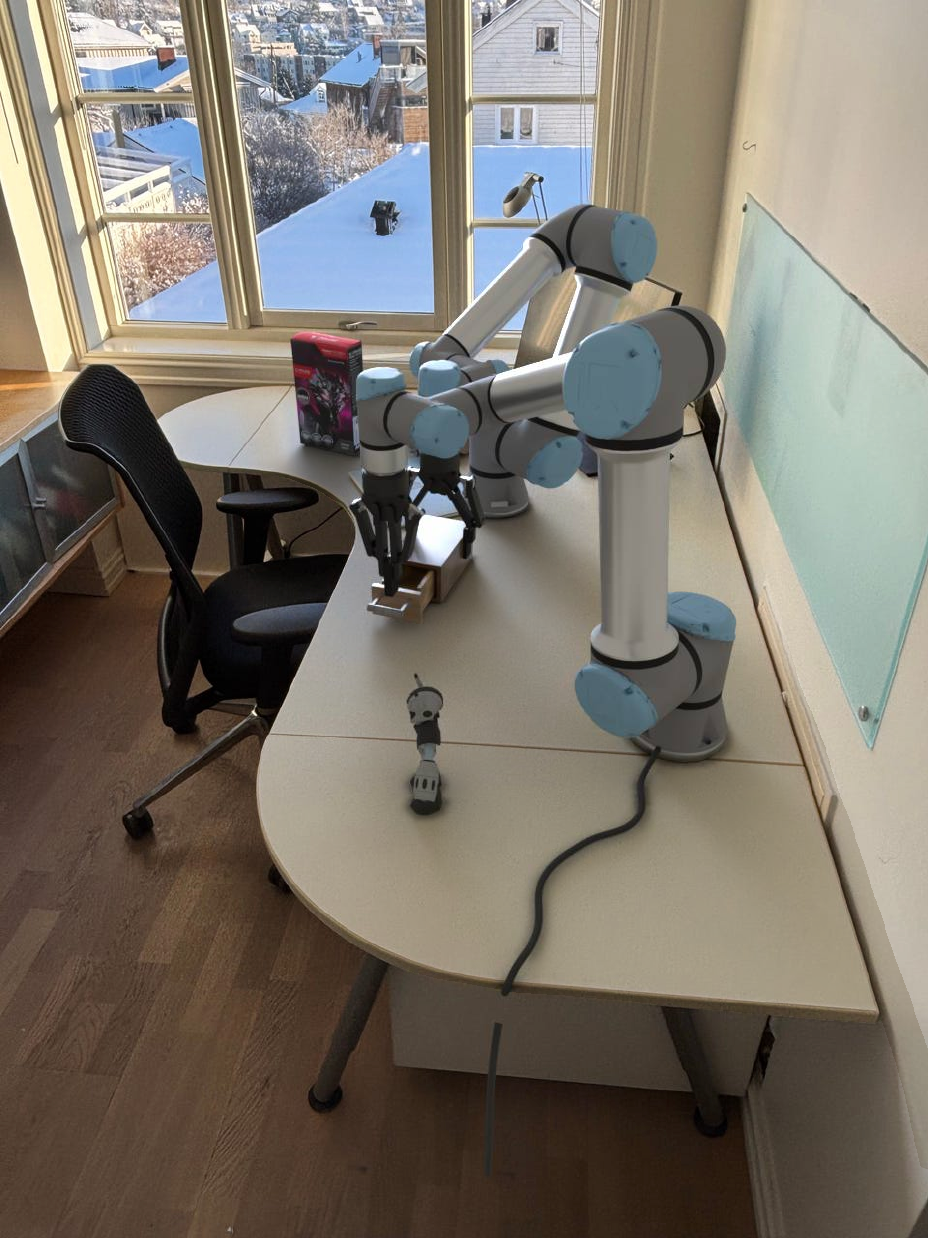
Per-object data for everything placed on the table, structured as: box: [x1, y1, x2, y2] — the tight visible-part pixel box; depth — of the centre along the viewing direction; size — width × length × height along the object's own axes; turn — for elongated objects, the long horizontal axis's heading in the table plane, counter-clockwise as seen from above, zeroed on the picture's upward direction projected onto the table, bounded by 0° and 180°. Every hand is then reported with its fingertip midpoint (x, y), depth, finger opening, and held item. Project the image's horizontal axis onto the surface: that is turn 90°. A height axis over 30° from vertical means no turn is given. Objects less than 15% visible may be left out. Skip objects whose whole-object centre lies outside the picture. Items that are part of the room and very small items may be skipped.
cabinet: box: [388, 514, 474, 604], centre depth 179 cm, size 19×10×8 cm, turn 161°
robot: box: [405, 673, 444, 816], centre depth 125 cm, size 20×5×20 cm, turn 3°
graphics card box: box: [289, 330, 364, 456], centre depth 225 cm, size 17×7×27 cm, turn 62°
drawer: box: [366, 564, 436, 624], centre depth 169 cm, size 23×9×6 cm, turn 161°
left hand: (440, 551), depth 183 cm, fingers closed on cabinet, 10 cm apart
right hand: (391, 592), depth 160 cm, fingers closed
